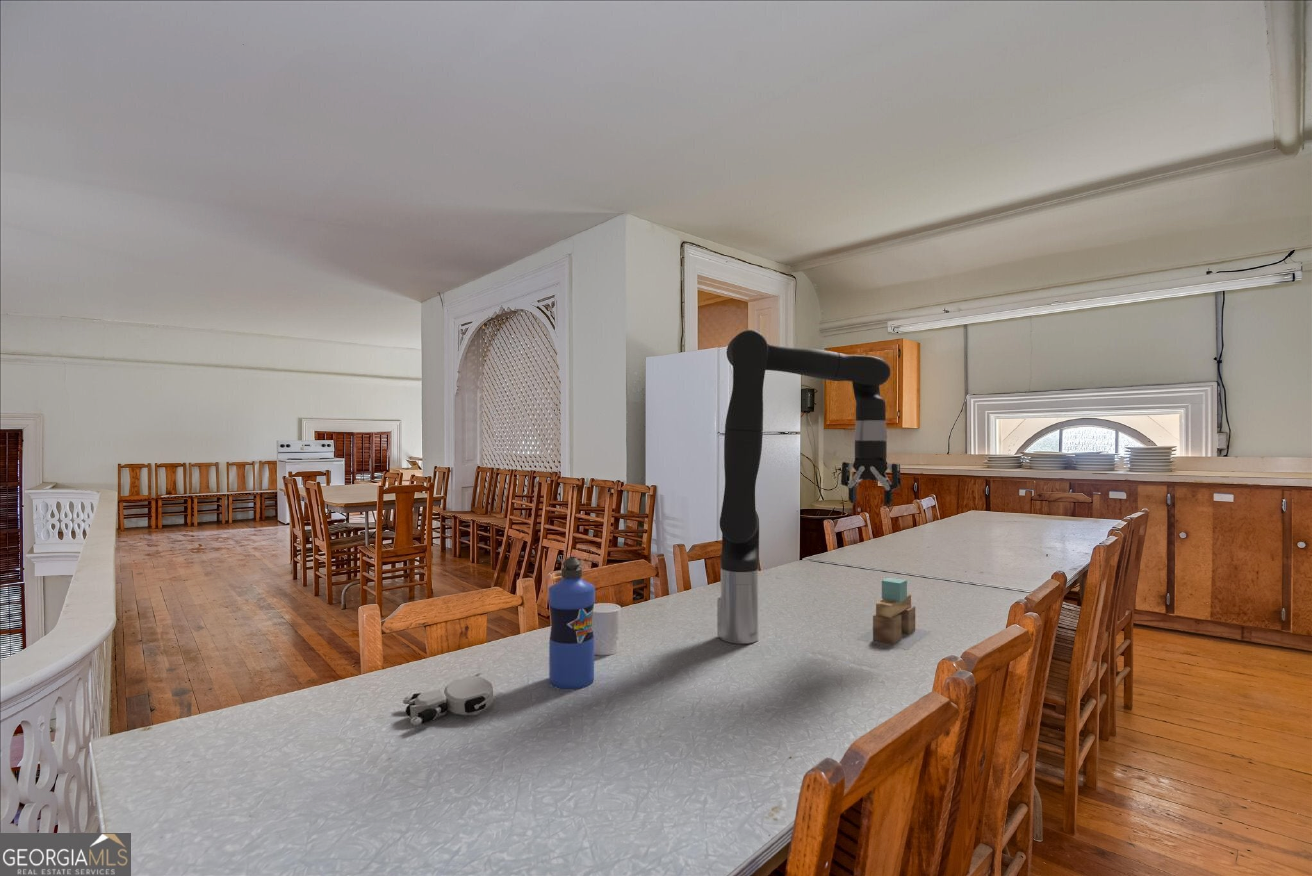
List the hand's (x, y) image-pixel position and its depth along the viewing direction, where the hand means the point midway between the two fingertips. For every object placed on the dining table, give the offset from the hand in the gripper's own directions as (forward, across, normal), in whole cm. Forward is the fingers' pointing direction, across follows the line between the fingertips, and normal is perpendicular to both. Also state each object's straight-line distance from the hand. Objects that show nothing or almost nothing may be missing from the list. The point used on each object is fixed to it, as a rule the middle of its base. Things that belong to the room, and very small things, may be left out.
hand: (870, 504), depth 155 cm
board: (+33, +5, +3) cm, 33 cm away
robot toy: (+34, -40, -91) cm, 105 cm away
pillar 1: (+32, +5, -2) cm, 33 cm away
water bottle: (+33, -35, -67) cm, 83 cm away
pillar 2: (+32, +5, +8) cm, 33 cm away
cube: (+23, +5, +3) cm, 24 cm away
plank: (+26, +5, +3) cm, 27 cm away
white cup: (+33, -43, -50) cm, 74 cm away
